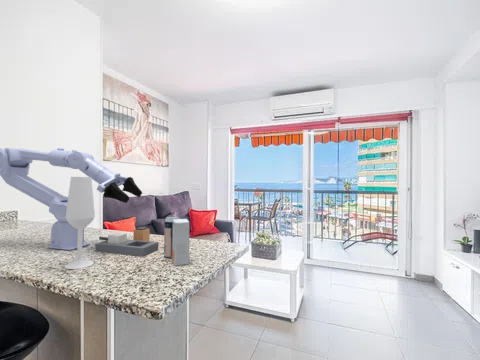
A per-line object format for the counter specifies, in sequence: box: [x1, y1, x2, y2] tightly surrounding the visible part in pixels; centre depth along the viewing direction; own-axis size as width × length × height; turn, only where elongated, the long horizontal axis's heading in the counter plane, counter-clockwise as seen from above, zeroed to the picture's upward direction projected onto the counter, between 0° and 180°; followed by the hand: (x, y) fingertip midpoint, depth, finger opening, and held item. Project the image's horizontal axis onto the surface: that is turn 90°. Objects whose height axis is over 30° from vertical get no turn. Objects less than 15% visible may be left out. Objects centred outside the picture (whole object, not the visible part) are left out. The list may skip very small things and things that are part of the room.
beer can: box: [163, 216, 180, 259], centre depth 75 cm, size 5×5×12 cm
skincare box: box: [171, 218, 190, 266], centre depth 70 cm, size 6×4×12 cm
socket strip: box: [94, 232, 159, 257], centre depth 81 cm, size 20×8×5 cm, turn 76°
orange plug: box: [132, 226, 151, 241], centre depth 91 cm, size 4×4×6 cm
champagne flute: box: [64, 176, 96, 270], centre depth 67 cm, size 7×7×24 cm
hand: (134, 197), depth 83 cm, fingers open, 7 cm apart
